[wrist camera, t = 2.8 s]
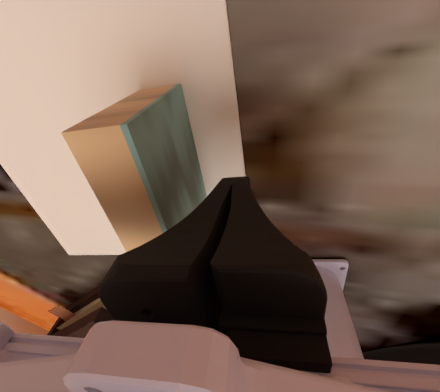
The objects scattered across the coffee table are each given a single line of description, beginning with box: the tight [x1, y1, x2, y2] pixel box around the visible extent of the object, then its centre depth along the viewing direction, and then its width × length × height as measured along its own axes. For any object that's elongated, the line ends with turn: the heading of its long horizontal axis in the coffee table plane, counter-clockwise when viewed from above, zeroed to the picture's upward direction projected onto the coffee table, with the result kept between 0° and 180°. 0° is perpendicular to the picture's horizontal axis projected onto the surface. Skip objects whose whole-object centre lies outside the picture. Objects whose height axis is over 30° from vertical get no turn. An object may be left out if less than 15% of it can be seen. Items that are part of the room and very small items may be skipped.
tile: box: [61, 84, 207, 252], centre depth 15 cm, size 9×3×8 cm, turn 9°
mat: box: [0, 0, 246, 255], centre depth 20 cm, size 24×22×1 cm
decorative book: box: [47, 286, 115, 338], centre depth 36 cm, size 19×8×30 cm
